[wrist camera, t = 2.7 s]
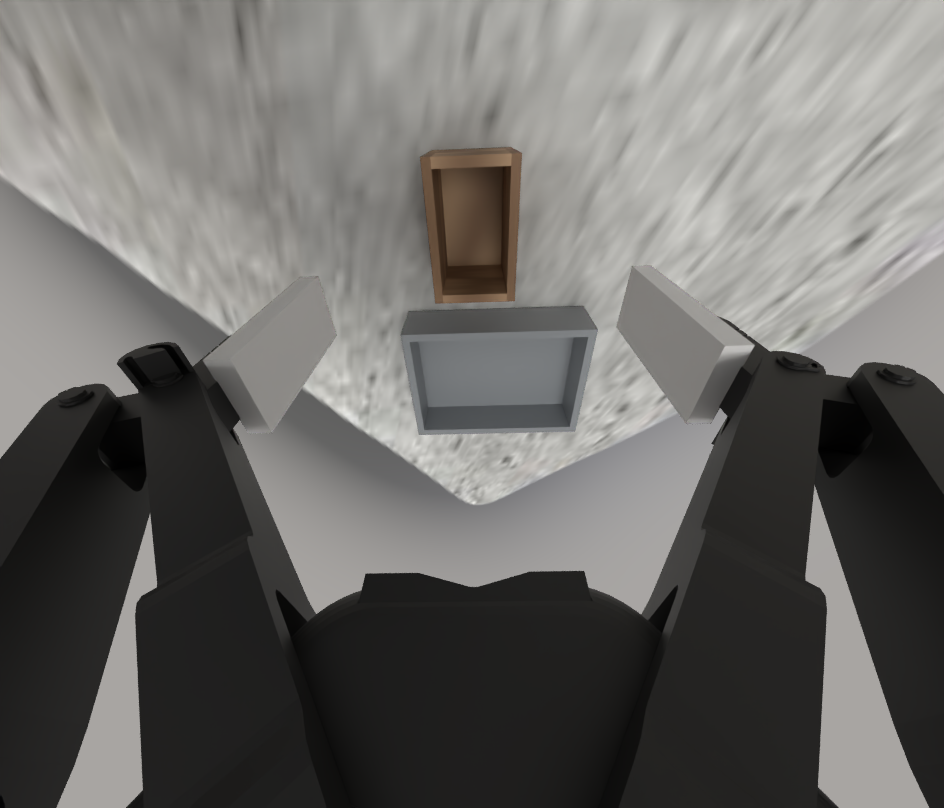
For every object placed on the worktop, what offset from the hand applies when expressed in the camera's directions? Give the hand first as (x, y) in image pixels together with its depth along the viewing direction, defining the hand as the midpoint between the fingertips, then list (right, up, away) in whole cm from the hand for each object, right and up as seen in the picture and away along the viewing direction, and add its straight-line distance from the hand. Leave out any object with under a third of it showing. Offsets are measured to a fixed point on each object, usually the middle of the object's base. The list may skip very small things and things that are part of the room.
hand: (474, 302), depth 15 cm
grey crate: (+2, 0, +23) cm, 23 cm away
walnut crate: (0, +12, +14) cm, 18 cm away
